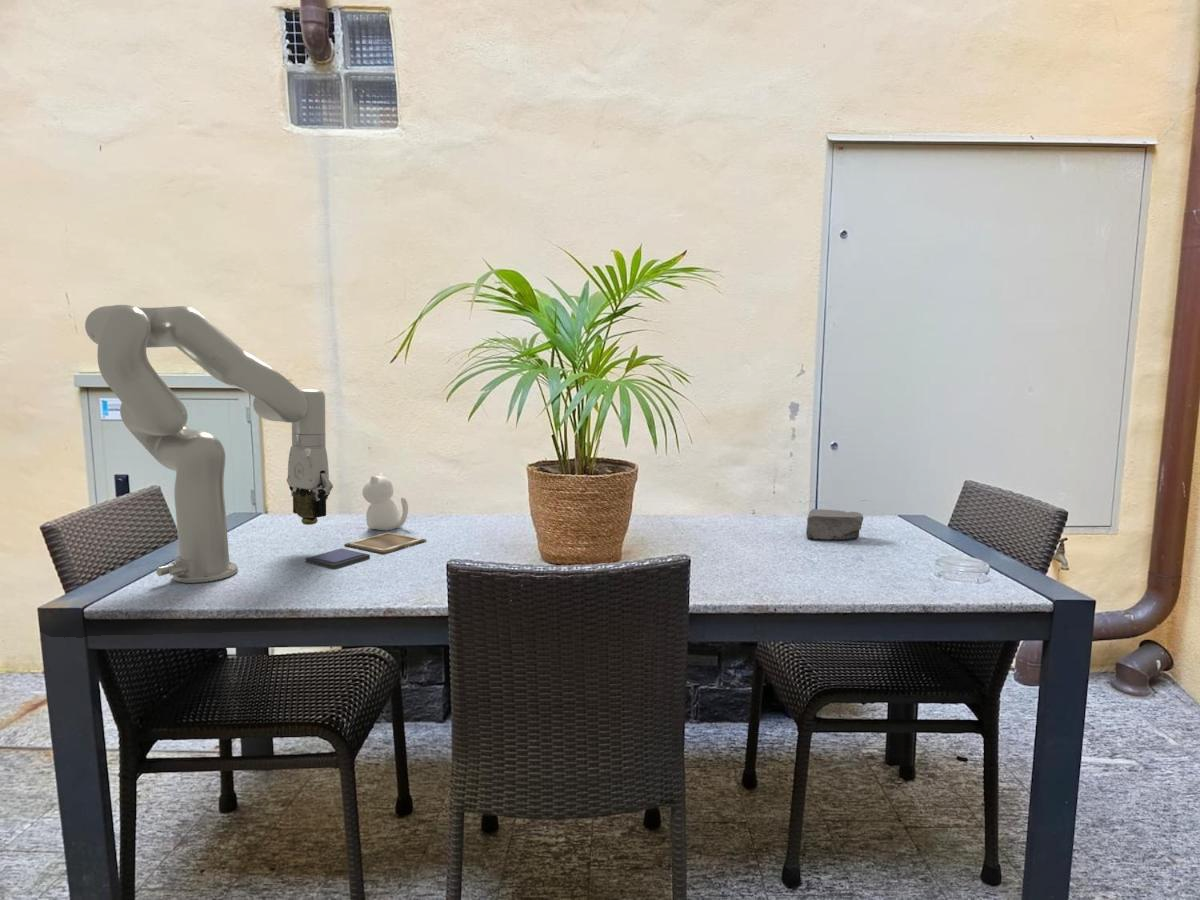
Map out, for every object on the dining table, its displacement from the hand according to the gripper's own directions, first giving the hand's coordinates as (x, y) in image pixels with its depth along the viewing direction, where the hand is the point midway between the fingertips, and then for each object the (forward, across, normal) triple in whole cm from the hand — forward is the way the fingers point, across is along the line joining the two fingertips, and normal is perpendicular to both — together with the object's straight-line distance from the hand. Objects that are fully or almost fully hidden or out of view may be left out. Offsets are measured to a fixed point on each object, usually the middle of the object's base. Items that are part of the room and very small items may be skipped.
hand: (309, 514), depth 186 cm
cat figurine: (+8, -2, +26) cm, 27 cm away
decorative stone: (+5, +102, +81) cm, 130 cm away
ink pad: (+9, +12, -1) cm, 15 cm away
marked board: (+8, +10, +15) cm, 20 cm away
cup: (+3, 0, 0) cm, 3 cm away
